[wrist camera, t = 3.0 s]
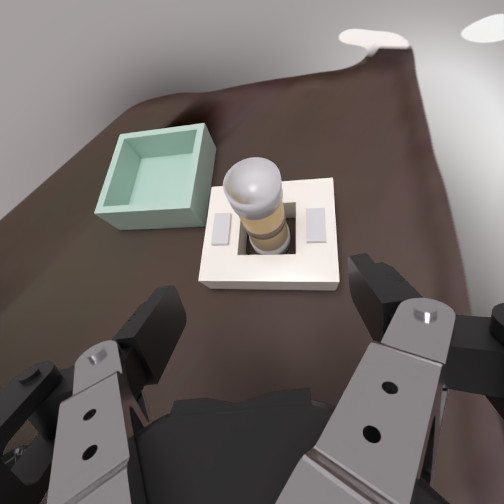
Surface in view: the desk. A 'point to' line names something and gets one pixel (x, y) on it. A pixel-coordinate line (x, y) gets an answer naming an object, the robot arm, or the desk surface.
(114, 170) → the parts tray
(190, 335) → the desk surface
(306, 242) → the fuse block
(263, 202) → the white and tan cylinder
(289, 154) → the desk surface
